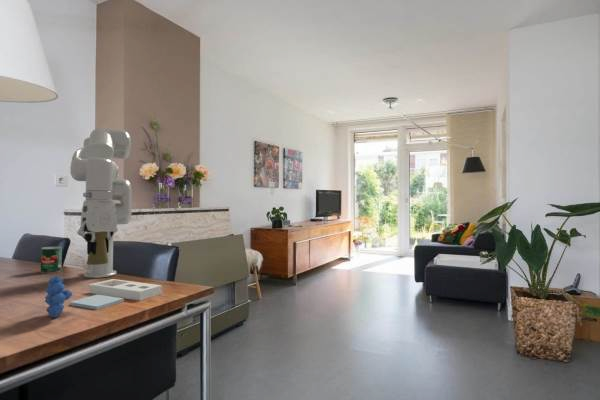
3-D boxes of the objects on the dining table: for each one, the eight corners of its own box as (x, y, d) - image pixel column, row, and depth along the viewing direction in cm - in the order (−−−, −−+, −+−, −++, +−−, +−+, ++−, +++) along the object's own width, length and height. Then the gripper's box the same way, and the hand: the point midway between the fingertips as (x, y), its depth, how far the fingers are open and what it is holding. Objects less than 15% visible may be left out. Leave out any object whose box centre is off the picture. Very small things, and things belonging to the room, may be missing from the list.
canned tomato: (41, 274, 160) (41, 249, 160) (39, 271, 166) (39, 247, 166) (62, 272, 165) (63, 247, 165) (60, 269, 171) (60, 246, 171)
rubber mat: (69, 305, 115) (69, 301, 115) (97, 297, 124) (97, 294, 124) (96, 309, 111) (97, 306, 111) (123, 301, 120) (123, 298, 120)
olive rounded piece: (98, 265, 114) (99, 229, 114) (82, 264, 115) (82, 229, 115) (112, 262, 120) (113, 228, 120) (96, 261, 121) (97, 228, 121)
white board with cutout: (88, 292, 130) (88, 284, 130) (112, 286, 139) (112, 278, 139) (140, 300, 121) (140, 291, 121) (161, 293, 131) (162, 285, 131)
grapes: (77, 319, 102) (78, 276, 102) (49, 324, 97) (49, 279, 97) (67, 309, 110) (68, 270, 110) (40, 314, 106) (40, 273, 106)
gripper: (83, 196, 108) (82, 257, 108) (128, 197, 124) (127, 251, 124) (66, 196, 111) (65, 256, 111) (112, 196, 127) (111, 249, 127)
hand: (98, 252), depth 118 cm, fingers closed on olive rounded piece, 3 cm apart
